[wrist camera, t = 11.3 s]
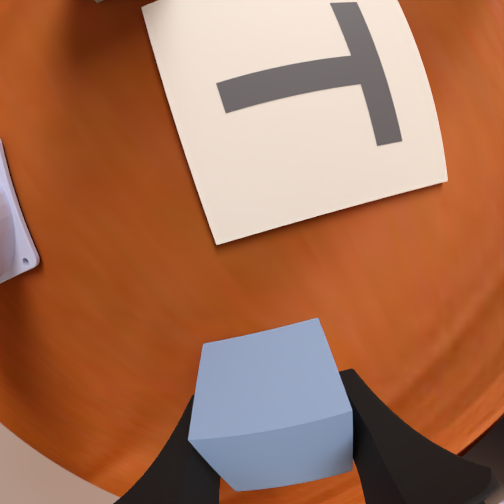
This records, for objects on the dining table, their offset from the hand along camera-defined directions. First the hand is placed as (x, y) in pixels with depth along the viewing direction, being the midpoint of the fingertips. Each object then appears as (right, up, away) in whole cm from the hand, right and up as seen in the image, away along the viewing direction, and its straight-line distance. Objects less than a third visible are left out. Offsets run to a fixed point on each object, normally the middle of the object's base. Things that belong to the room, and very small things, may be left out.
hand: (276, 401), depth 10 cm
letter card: (+2, +13, +1) cm, 13 cm away
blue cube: (0, +1, +2) cm, 2 cm away
